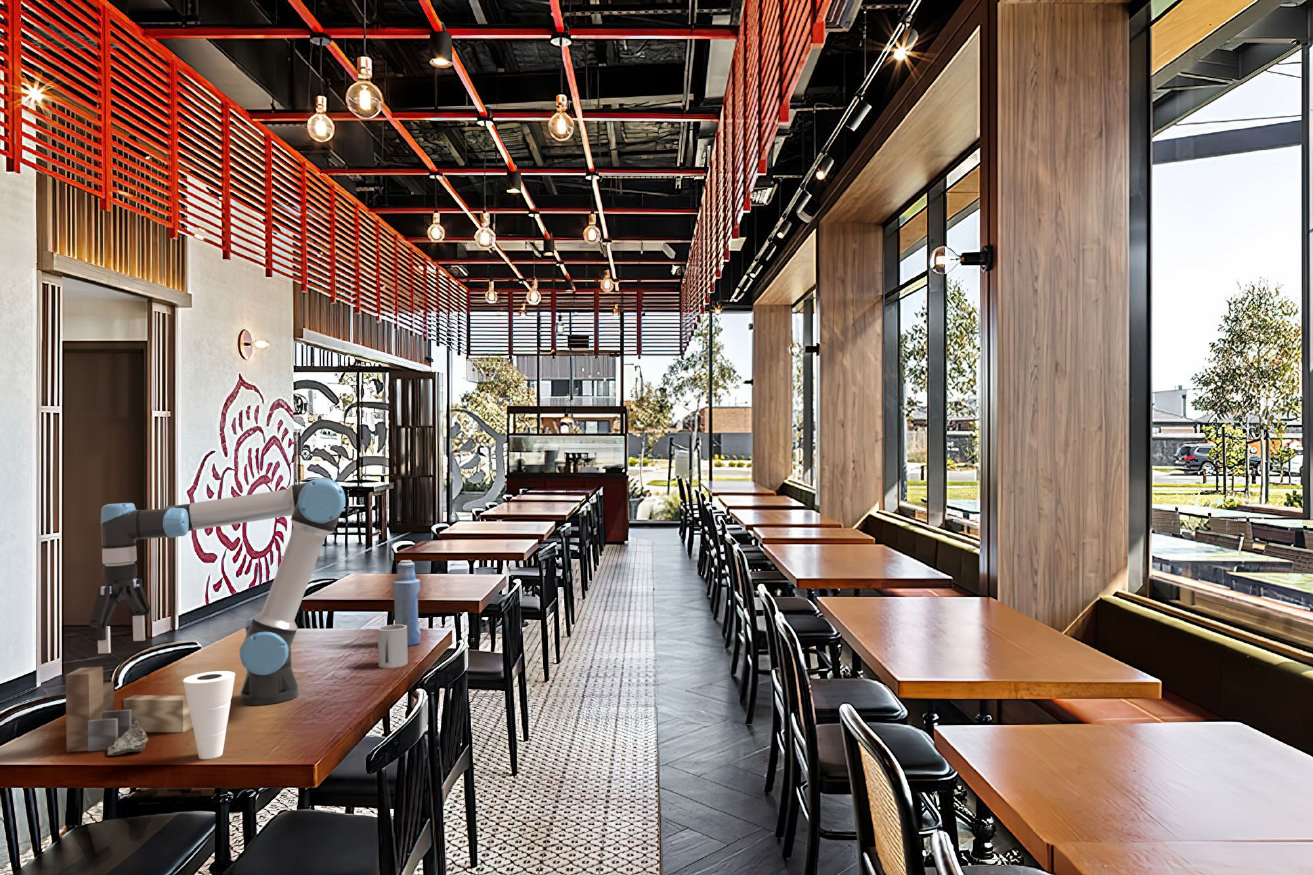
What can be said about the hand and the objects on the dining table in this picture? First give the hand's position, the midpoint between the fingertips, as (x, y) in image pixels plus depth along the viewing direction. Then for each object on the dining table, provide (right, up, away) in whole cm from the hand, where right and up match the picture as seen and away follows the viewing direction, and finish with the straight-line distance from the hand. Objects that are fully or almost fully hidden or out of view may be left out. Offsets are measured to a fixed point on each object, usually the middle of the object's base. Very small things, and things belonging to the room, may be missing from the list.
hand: (122, 646), depth 223 cm
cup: (+51, -20, +60) cm, 82 cm away
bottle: (+47, -21, +90) cm, 104 cm away
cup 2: (+35, -20, -23) cm, 46 cm away
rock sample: (+13, -20, -19) cm, 31 cm away
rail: (+11, -20, -3) cm, 23 cm away
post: (+2, -20, -10) cm, 23 cm away
